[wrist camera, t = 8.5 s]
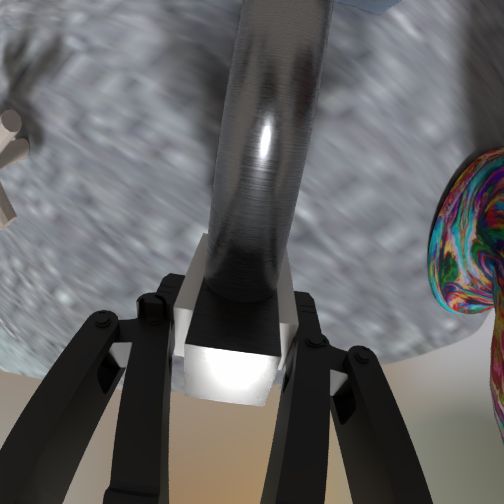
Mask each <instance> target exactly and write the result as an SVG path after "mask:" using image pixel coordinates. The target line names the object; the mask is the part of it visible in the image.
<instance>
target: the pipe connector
mask: <svg viewBox="0 0 504 504" xmlns="http://www.w3.org/2000/svg"><path fill="white" fill-rule="evenodd" d="M21 126H22V120H21V117H20V116H19V114H18V113H17V112H15V111H14V110H9V109H7V110H6V111H4V112H3V113H2V114H1V115H0V169H2V168H4V167H6V166H9V165H11V164H13V163H16V162H18V161H21V160H24V159H26V158H27V156H28V154H29V143H28V141H27V140H26V139H24V138H21V139H18V140H14V141H11V140H12V139H13V138H14V136H15V135H16V134H17V133H18V132H19V131H20V129H21ZM10 141H11V142H10ZM16 217H17V215H16V213H15V211H14V209H13V207H12V205H11V203H10V201H9V199H8V197H7V195H6V193H5V191H4V189H3V187H2V185H1V182H0V231H1V230H2V229H4V228H5V227H6V226H8V225H9V224H10V223H11V222H12V221H14V220H15V219H16Z"/></svg>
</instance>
